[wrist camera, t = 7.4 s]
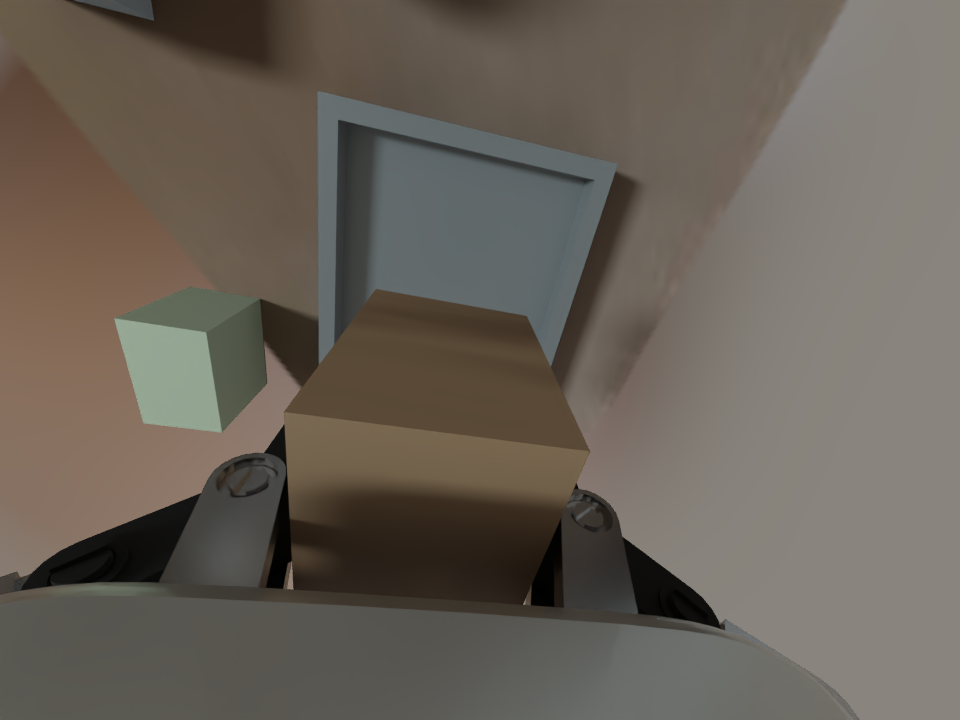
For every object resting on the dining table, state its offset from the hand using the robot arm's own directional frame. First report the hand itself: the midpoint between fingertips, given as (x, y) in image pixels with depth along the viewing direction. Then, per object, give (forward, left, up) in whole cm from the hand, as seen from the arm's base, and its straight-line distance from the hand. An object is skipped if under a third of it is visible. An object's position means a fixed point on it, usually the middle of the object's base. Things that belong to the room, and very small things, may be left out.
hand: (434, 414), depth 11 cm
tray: (0, 0, -15) cm, 15 cm away
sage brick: (+7, -15, -15) cm, 23 cm away
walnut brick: (0, 0, -1) cm, 1 cm away
